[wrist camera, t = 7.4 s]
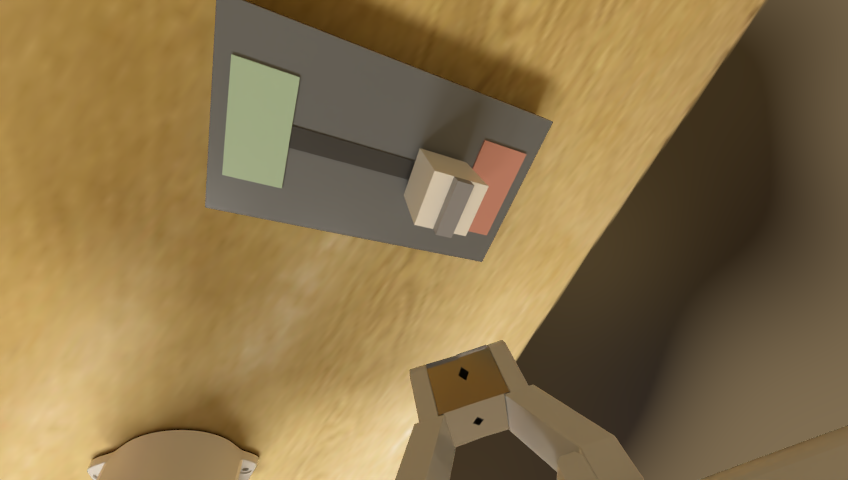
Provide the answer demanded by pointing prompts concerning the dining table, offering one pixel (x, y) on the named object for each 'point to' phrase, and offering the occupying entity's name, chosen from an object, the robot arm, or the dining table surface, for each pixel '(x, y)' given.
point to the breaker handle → (443, 194)
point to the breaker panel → (349, 134)
